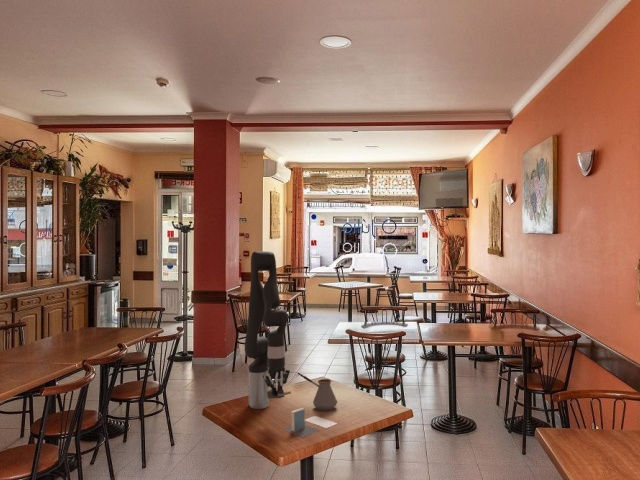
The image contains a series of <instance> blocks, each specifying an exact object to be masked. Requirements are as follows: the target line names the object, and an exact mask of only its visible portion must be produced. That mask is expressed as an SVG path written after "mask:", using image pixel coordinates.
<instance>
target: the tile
mask: <svg viewBox="0 0 640 480" xmlns="http://www.w3.org/2000/svg"><path fill="white" fill-rule="evenodd" d="M290 413H291V414H290V416H291V427H292V431H297V430H300V429H302V428H305V425H306V424H305V423H306V421H305V419H306V416H305V415H306V413H305V408H304V407H301V408H298V409H295V410H291V412H290Z"/></svg>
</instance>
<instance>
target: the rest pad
mask: <svg viewBox="0 0 640 480" xmlns="http://www.w3.org/2000/svg"><path fill="white" fill-rule="evenodd" d="M305 422H307V423H311V424H313V425H317V426H318V427H321V428H325V429H327V428H330V427H332V426H335V425H337V424H338V423H337V422H334V421H332V420H328V419H326V418H323V417H320V416H317V415H314V416H310V417H307V418H305Z"/></svg>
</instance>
